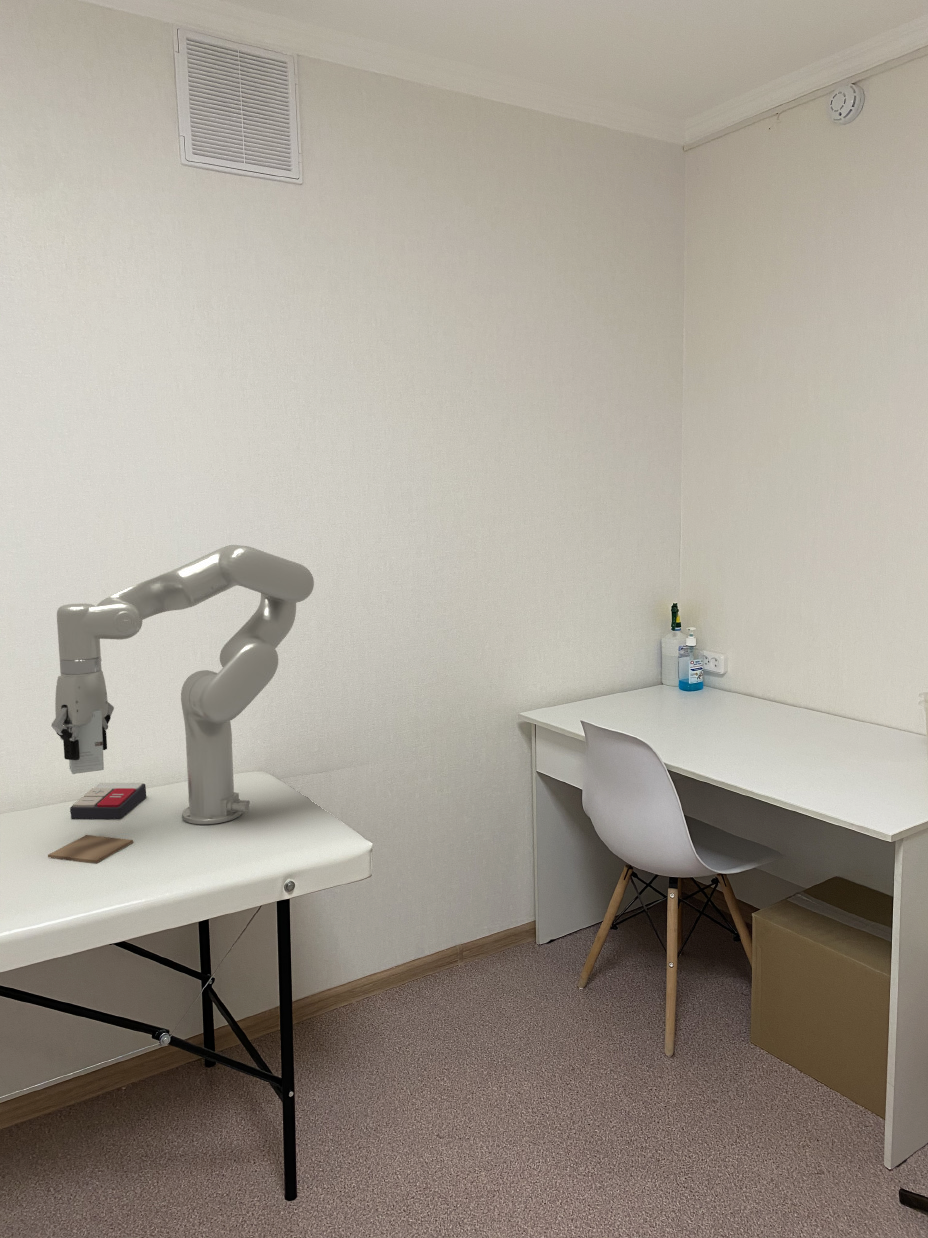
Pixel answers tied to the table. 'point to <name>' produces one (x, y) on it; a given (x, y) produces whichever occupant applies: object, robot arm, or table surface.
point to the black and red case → (109, 801)
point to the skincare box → (89, 746)
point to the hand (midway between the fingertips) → (86, 753)
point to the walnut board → (91, 849)
